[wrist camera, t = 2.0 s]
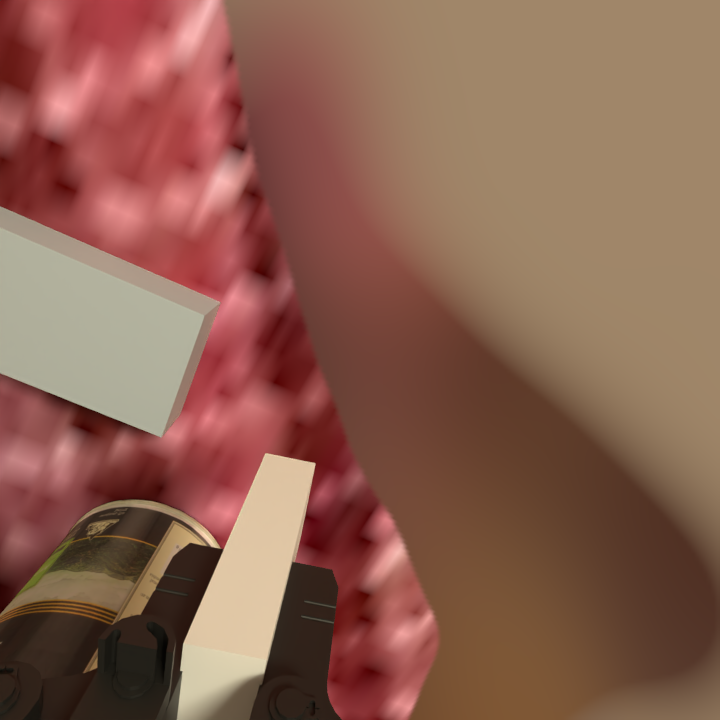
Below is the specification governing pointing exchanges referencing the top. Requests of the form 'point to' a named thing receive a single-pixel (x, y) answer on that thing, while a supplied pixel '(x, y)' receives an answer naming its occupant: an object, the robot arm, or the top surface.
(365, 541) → the top surface
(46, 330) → the grey flat block
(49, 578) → the coffee can
